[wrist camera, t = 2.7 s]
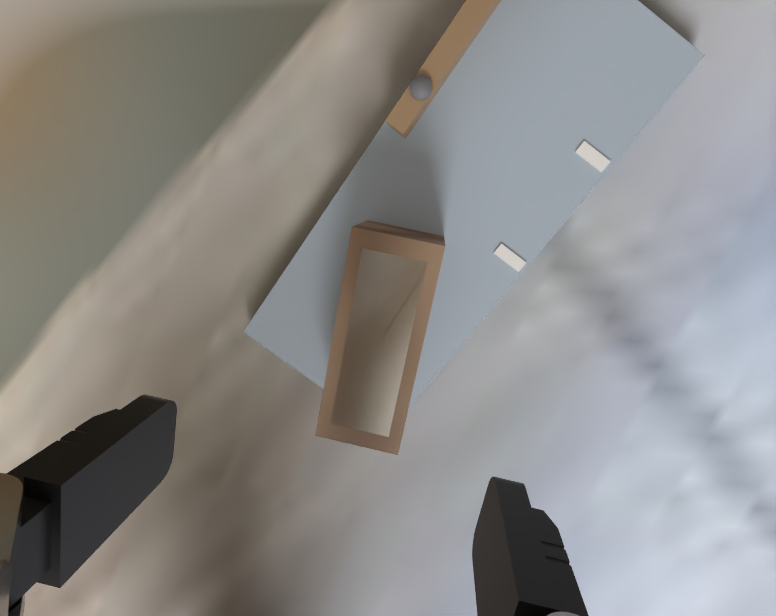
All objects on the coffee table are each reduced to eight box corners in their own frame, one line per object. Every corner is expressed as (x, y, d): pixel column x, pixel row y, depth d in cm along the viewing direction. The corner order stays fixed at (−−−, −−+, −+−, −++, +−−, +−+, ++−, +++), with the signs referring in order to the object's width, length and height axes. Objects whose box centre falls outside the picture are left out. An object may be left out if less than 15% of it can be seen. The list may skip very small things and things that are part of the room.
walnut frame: (444, 236, 24) (445, 246, 19) (404, 411, 26) (397, 454, 22) (367, 220, 24) (351, 226, 20) (335, 395, 27) (315, 435, 22)
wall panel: (690, 62, 22) (732, 40, 19) (388, 424, 28) (382, 453, 25) (522, -76, 21) (536, -121, 18) (251, 325, 27) (227, 342, 24)
